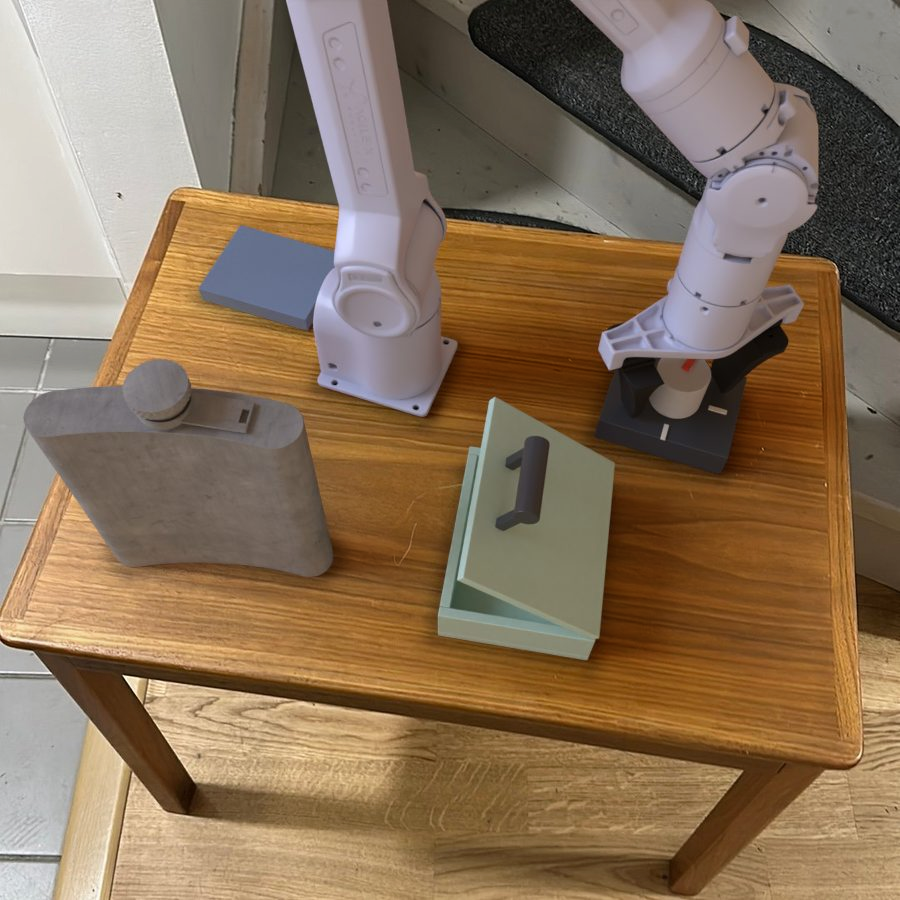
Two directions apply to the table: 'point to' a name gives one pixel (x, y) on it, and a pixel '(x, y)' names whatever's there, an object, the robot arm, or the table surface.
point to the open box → (495, 602)
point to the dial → (680, 386)
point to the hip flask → (187, 471)
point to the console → (676, 427)
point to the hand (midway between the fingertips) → (675, 394)
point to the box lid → (539, 521)
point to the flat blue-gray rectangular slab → (269, 277)
